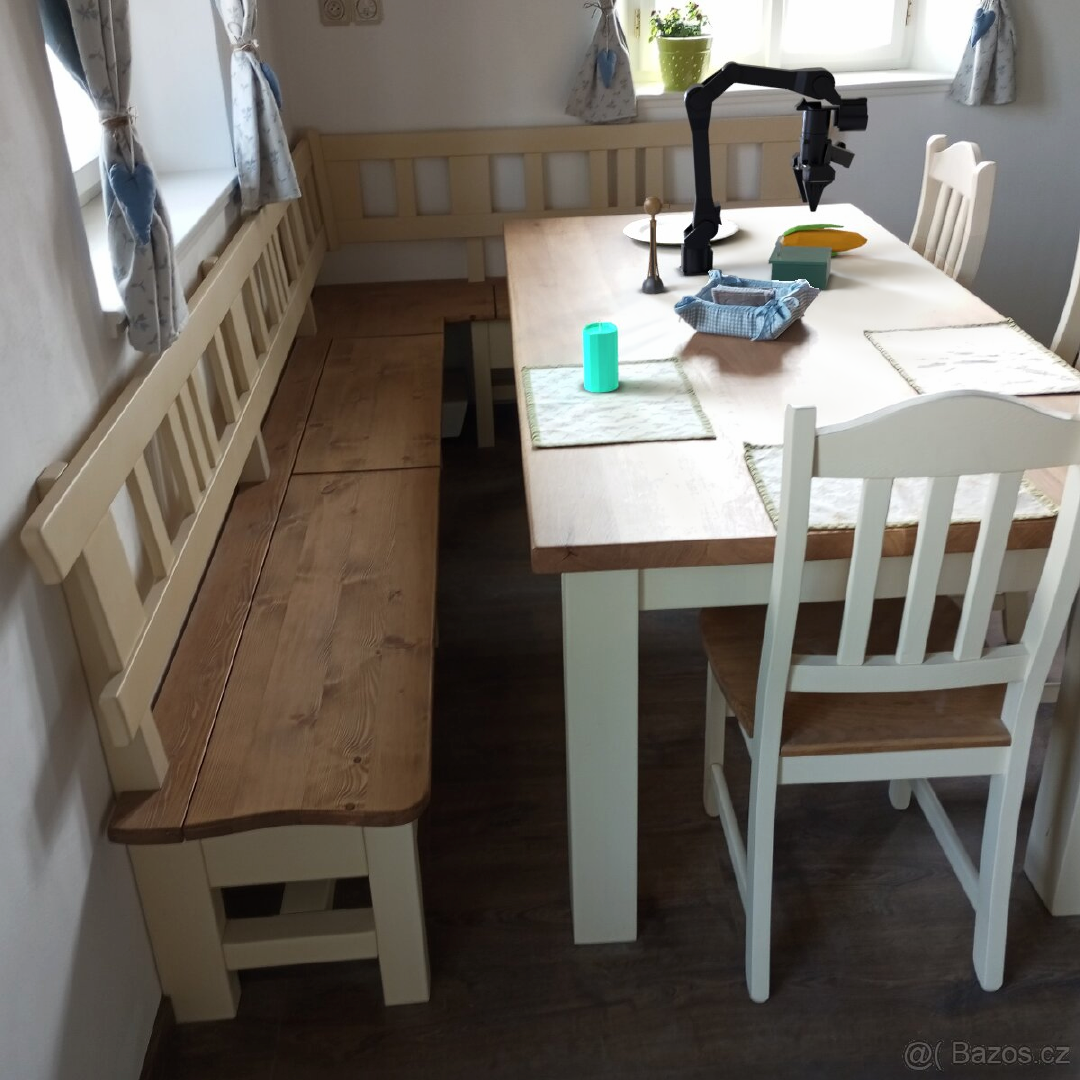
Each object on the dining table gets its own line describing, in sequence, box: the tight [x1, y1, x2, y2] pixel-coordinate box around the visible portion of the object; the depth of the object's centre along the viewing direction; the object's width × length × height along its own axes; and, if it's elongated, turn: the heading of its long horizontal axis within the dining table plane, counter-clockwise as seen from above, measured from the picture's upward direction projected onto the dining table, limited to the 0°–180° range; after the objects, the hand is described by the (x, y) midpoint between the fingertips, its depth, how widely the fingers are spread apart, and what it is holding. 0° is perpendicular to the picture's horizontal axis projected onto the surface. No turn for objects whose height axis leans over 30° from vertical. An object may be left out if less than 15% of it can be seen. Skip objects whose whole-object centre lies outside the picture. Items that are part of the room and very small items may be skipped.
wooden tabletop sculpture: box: [641, 196, 671, 295], centre depth 233 cm, size 6×5×20 cm
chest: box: [770, 251, 832, 291], centre depth 237 cm, size 11×12×5 cm
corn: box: [781, 223, 868, 257], centre depth 254 cm, size 7×8×20 cm
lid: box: [767, 235, 832, 266], centre depth 235 cm, size 12×12×4 cm
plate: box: [623, 214, 739, 247], centre depth 279 cm, size 29×29×2 cm
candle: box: [582, 318, 620, 394], centre depth 186 cm, size 6×6×12 cm
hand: (809, 207), depth 240 cm, fingers open, 9 cm apart
